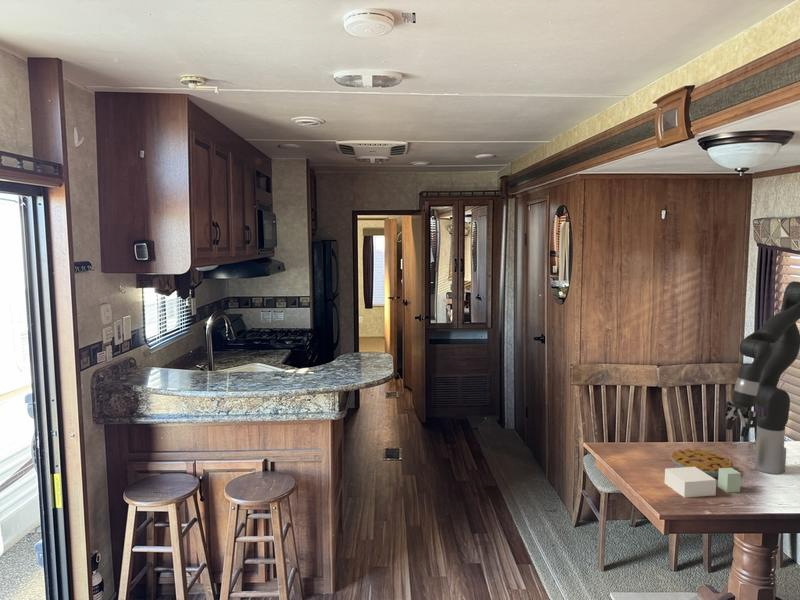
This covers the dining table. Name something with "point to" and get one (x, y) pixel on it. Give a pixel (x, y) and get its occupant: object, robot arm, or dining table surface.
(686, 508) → the dining table surface
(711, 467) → the pie
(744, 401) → the robot arm
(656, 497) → the dining table surface
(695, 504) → the dining table surface
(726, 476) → the sage block
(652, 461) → the dining table surface
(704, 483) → the base box
